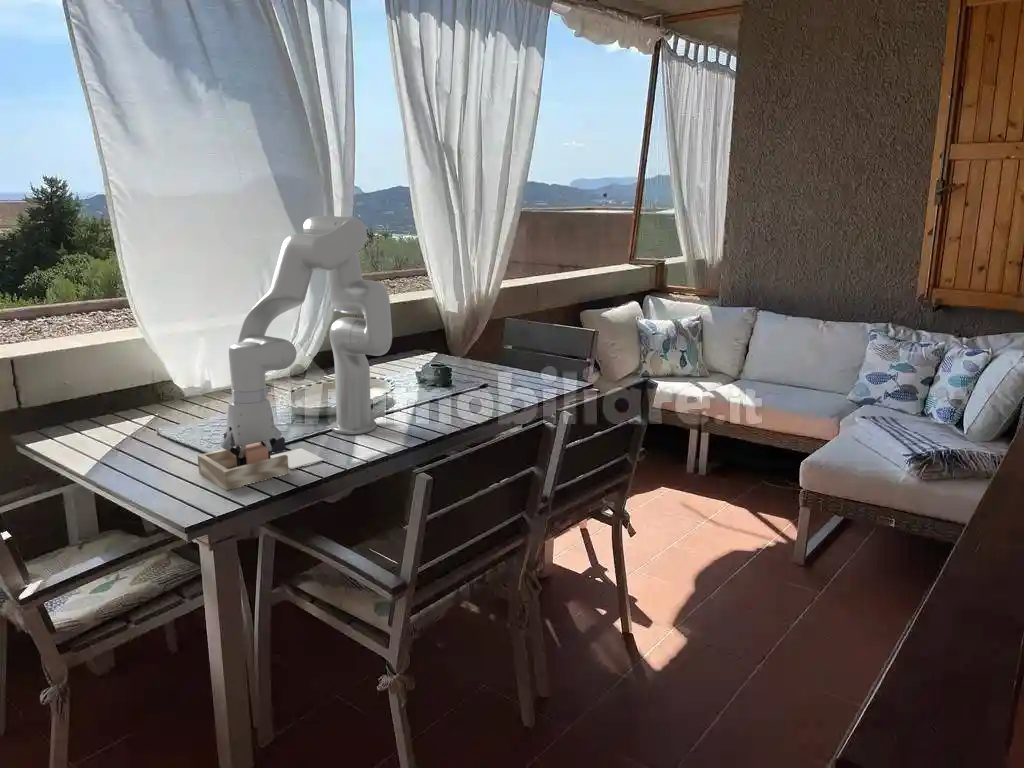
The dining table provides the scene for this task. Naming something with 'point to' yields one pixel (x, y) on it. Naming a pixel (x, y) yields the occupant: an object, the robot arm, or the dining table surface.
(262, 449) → the block
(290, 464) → the mat
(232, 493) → the dining table surface
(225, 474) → the u-shaped frame
